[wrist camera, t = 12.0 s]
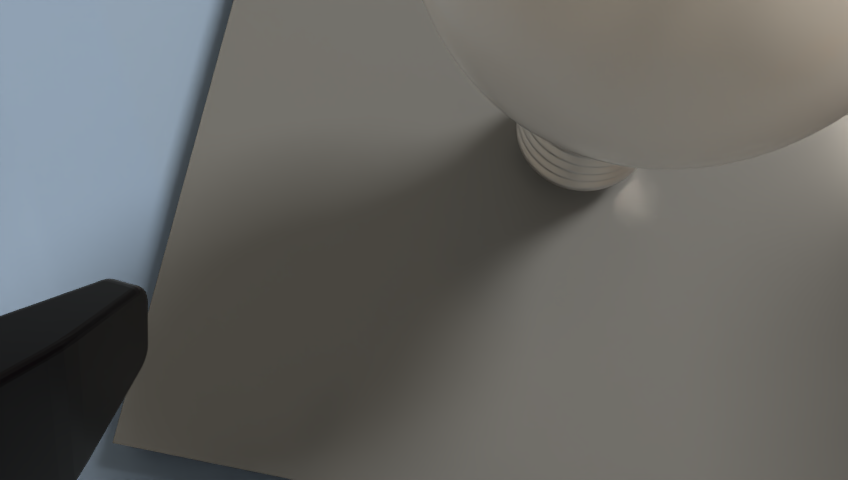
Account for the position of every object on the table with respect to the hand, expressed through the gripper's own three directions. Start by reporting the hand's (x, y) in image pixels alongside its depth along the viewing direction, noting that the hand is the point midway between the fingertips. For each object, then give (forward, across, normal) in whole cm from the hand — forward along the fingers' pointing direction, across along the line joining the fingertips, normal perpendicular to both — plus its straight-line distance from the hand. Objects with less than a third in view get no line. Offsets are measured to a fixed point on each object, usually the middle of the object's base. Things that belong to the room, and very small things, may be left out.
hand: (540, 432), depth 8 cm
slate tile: (+10, 0, +1) cm, 11 cm away
